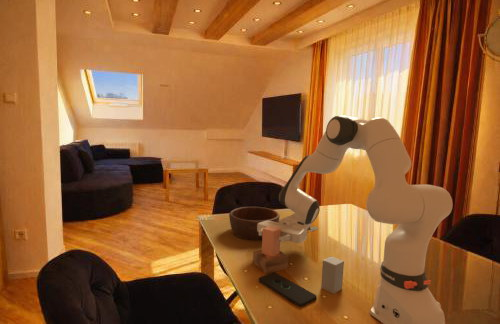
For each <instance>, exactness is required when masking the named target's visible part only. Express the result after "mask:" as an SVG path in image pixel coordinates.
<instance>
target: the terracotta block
mask: <svg viewBox="0 0 500 324" xmlns="http://www.w3.org/2000/svg"><path fill="white" fill-rule="evenodd" d="M280 235H281V228H277V227H273V226H268V227H265V228H263V235H262V241H261V250H262V254H265V255H268V256H271V257H273V256H275V255H277V254H279V253H280V251H281V241H279V237H280Z"/></svg>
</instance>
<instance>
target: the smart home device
mask: <svg viewBox="0 0 500 324" xmlns="http://www.w3.org/2000/svg"><path fill="white" fill-rule="evenodd" d="M258 282H259V283H260V284H262V285H264V286H265V287H267V288H268V289H270V290H272V291H273V292H274V293H276V294H278V295H279V296H281V297H282V298H284V299H285V300H287V301H289V302H290V303H292V304H294V305H296V306H297V308H303V307H305V306H307V305H309V304H311V303H313V302H314V301H316V300H317V295H316V294H315V293H312V292H311V291H310V290H308V289H306V288H304V287H302V286H301V285H299V284H296V283H295V282H294V281H291V280H290V279H288V278H286V277H284V276H283V275H281V274H279V273H277V272H276V271H275V272H270V273H267V274H265V275H262V276H260V277H258Z"/></svg>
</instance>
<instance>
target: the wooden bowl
mask: <svg viewBox="0 0 500 324" xmlns="http://www.w3.org/2000/svg"><path fill="white" fill-rule="evenodd" d="M228 215H229V216H228V217H229V223H230V228H231V230H232V232H233V233H234V235H235V236H237V237H238V238H241V239H245V240H250V241H251V240H252V241H253V240H254V241H258V240H262V236H260V235H259V232H258V231H257V225H258V223H260V222H263V221H273V222H277V223H278V222H279V221H280V213H279V212H277V210H274V209H273V208H267V207H263V206H262V207H261V206H243V207H242V206H241V207H238V208H237V207H236V208H234V209H232V210H230V212H229V213H228Z"/></svg>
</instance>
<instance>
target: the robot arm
mask: <svg viewBox="0 0 500 324" xmlns="http://www.w3.org/2000/svg"><path fill="white" fill-rule="evenodd" d="M348 149H352V150H362V151H365V152H366V155H367V158H368V160H369V162H370V165H371V167H372V171H373V173H374V186H373V188H372V189H371V190H370V192H369V193H368V195H367V197H366V201H365V202H366V203H365V204H366V205H365V206H366V210H367V213H368V215H369V217H370V218H371V219H372V220H374V221H375V222H377V223H380V224H388V225H397V226H396V228H395V229H394V230H392V232H389V234H388V235H387V236H386V238H385V240H384V248H383V259H382V262H381V264H380V265H381V266H380V280H379V283H378V285H377V287H376V291H375V297H374V301H373V305H372V307H371V309H370V312H369V313H370V315H371V316H373V318H375V319H377V320H378V321H379V322H381V324H446V318H445V317H446V316H445V313H444V310H443V309H442V305H441V303H440V302H438V301H437V300H436V298H435V297H434V295H433V294H432V292H431V291H430V289H429V288H428V287H429V285H431V282H432V279H431V280H430V279H427V274H426V271H425V265H426V257H427V251H428V247H429V244H430V240H431V238H432V236H433V235H434V233H435V232H436V229H437V228H438V226H439V225H440V224H441V222H442V221H443V220H445V219H446V218H447V217H449V215H450V214H451V213H452V210H453V205H454V204H453V198H452V196H451V194H450V192H449V191H448V190H447V189H445V188H444V187H441V186H438V185H433V184H425V183H424V184H423V183H422V184H409V183H408V181H407V180H406V174H407V173H408V172H409V171H410V169H411V167H412V160H411V158H410V155H409V152H408V151H407V149H406V147H405V145H404V142H403V141H402V139H401V136H400V135H399V134H398V132H397V131H396V128H395V127H394V126H393V125H392V123H391V122H390V121H389V120H388V119H386V118H384V117H375V118H371V119H369V120H367V119H363V118H360V117H356V116H355V117H354V116H348V115H344V114H343V115H334V116H333V117H332V118H331V119H330V120H329V121H328V122H327V125H326V128H325V132H324V133H323V135H322V136H321V138H320V140H319V142H318V144H317V146H316V148H315V150H314V152H313V153H311V154H309V155H306V156H304V158H302V160H301V161H300V162H299V164H298V165H297V167H296V168H295V169H294V171H293V172H292V174H291V176H290V177H289V179H288V181H287V182H286V183H285V185H284V186H283V187H282V189H281V190H280V191H279V193H278V200H279V203H280V205H282V206H284V207H286V209H289V210H290V211H292V212H293V213H292V214H290V215H287V216H285V217H283V218H281V219H279V222H278V223H277V222H273V221H263V222H260V223H258V225H257V231H258V232H259V235H260V236H262V235H263V228H265V227H268V226H273V227H277V228H281V235H280V237H279V241H280V243H284V242H292V243H294V244H302V243H303V242H305V241H306V240H307V236H308V233H307V232H308V230H307V229H308V228H309V227H312V226H313V223H314V222H315V221H316V220H317V218H318V216H319V214H320V204H319V201H318V200H317V199H316V198H314V197H312V196H311V195H310V194H308V193H306V192H305V191H303V190H302V189H300V187H299V185H300V183H301V182H302V180H303V179H304V177H305V176H306V174H307V173H315V174H321V175H323V174H324V175H325V174H326V175H327V174H331V173H333V172H335V171H337V169H338V168H339V166H341V163H342V161H343V159H344V157H345V155H346V152H347V150H348Z"/></svg>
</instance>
